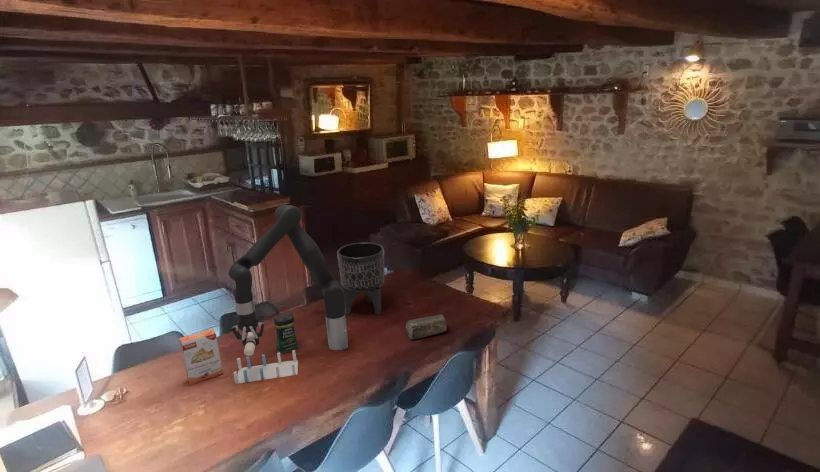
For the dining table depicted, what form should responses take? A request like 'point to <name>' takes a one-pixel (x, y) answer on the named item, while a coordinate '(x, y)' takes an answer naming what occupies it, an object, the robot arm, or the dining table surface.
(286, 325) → the coffee jar
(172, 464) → the dining table surface
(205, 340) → the cracker box
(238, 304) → the robot arm
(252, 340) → the banded cream tube
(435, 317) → the stone block
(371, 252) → the planter
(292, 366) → the white pegged rack
